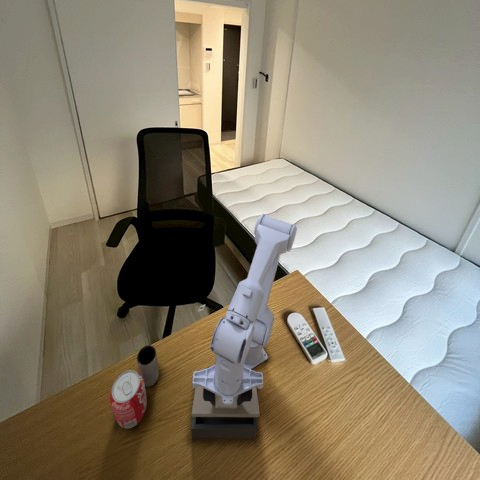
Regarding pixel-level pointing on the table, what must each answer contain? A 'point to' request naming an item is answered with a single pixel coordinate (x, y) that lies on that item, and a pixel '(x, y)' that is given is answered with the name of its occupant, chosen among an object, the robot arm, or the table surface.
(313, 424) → the table surface
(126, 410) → the soda can
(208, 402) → the lid
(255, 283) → the robot arm
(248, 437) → the dark grey open box
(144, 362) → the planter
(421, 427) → the table surface
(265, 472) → the table surface
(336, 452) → the table surface
